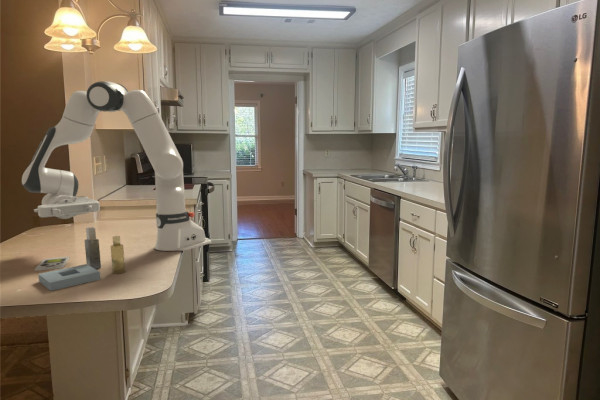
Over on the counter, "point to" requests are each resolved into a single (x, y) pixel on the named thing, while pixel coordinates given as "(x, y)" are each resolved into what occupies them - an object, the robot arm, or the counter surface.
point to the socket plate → (68, 277)
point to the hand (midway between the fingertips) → (76, 211)
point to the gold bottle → (117, 256)
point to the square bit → (92, 249)
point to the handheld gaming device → (52, 263)
